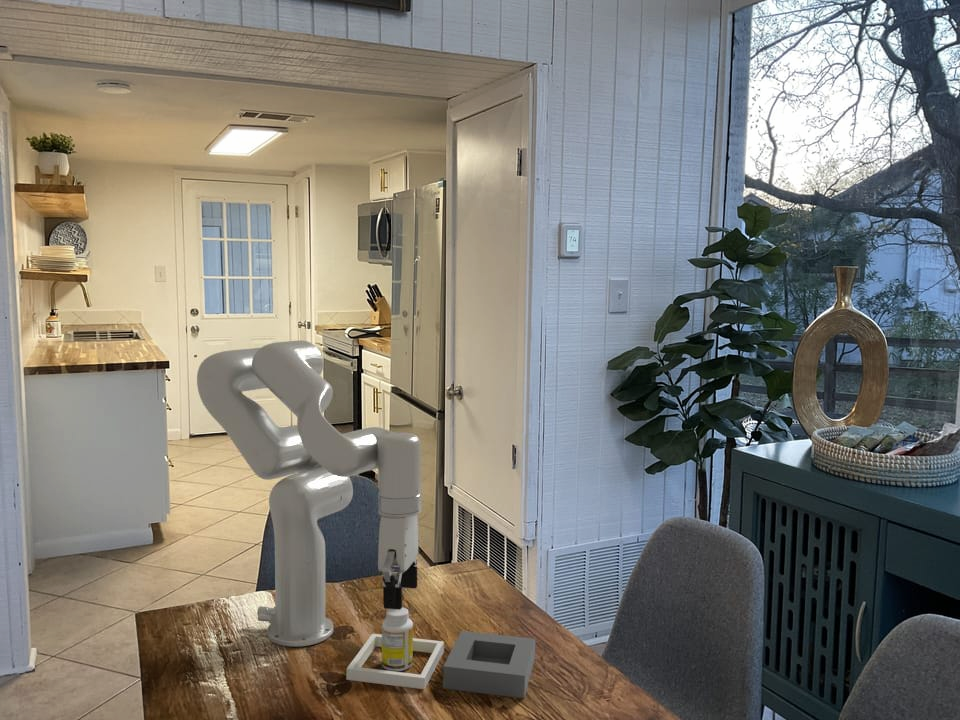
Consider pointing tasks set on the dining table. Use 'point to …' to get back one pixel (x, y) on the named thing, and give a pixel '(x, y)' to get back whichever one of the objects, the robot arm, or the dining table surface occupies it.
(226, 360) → the robot arm
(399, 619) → the supplement bottle
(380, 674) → the tray rim
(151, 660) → the dining table surface
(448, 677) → the gray square socket block
